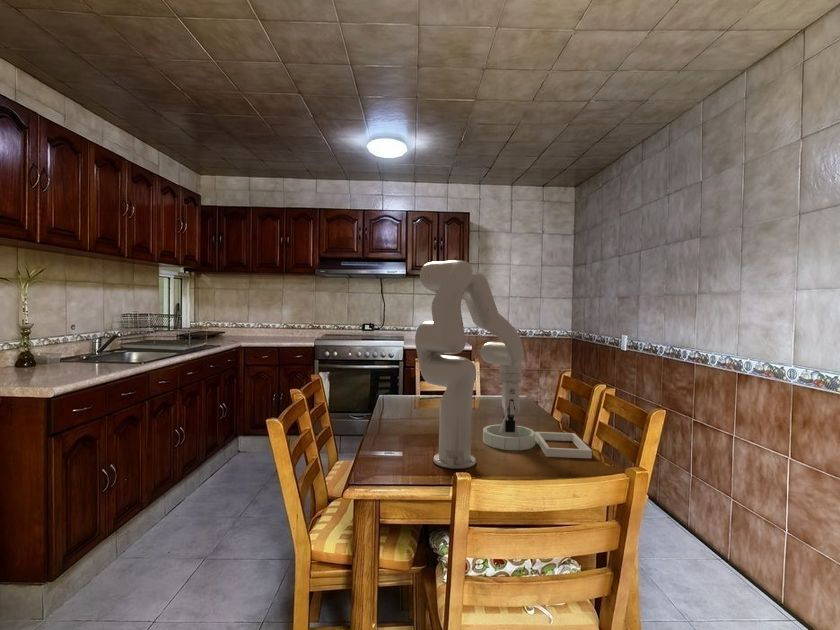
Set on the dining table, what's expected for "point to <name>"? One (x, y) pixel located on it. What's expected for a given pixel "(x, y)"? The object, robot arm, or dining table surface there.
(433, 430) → the dining table surface
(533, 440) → the bowl
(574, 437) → the light grey rectangular frame
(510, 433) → the flask
